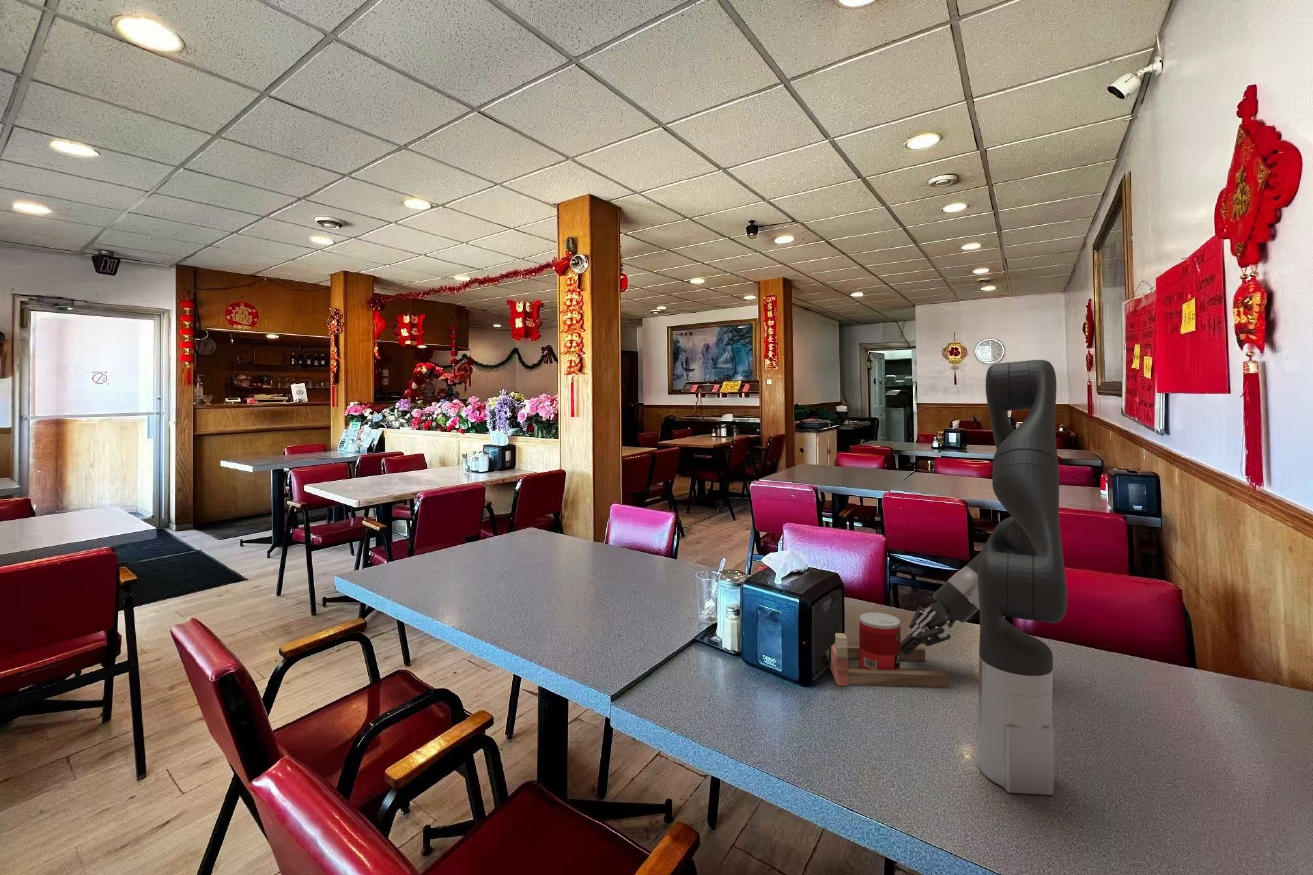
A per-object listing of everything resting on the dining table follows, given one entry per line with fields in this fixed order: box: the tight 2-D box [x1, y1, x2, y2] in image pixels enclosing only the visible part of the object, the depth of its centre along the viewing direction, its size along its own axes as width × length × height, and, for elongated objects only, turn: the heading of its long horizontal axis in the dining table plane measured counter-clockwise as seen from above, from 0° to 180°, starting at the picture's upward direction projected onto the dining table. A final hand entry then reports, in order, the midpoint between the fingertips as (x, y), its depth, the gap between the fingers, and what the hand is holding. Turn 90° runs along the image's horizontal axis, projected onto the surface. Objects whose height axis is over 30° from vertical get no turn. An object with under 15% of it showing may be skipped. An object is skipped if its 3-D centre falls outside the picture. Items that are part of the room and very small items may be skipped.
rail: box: [829, 632, 948, 689], centre depth 117 cm, size 14×21×10 cm, turn 84°
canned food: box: [858, 612, 901, 670], centre depth 117 cm, size 8×8×11 cm
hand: (902, 650), depth 116 cm, fingers closed
